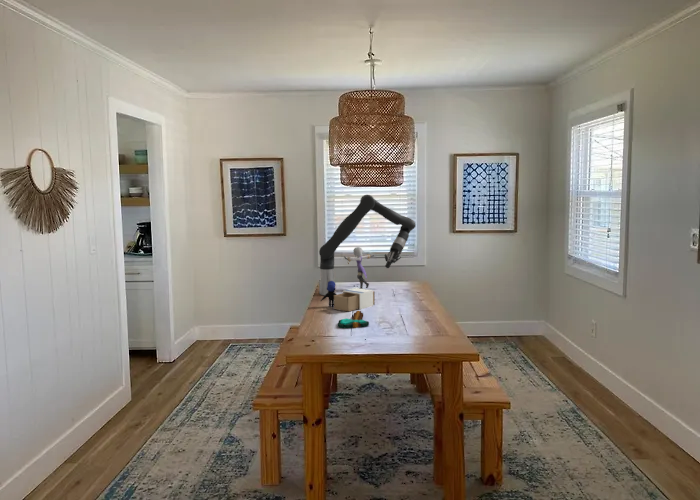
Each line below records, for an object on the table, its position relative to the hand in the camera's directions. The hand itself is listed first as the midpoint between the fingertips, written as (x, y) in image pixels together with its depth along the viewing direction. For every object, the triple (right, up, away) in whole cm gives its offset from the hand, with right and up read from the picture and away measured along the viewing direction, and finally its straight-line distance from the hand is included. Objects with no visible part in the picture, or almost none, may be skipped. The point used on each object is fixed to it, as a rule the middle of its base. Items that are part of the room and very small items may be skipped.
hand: (386, 267), depth 350 cm
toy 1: (-34, -23, -19) cm, 45 cm away
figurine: (-17, -17, +33) cm, 40 cm away
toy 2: (-21, -27, -58) cm, 67 cm away
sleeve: (-19, -23, -21) cm, 36 cm away
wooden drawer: (-21, -22, -23) cm, 38 cm away
